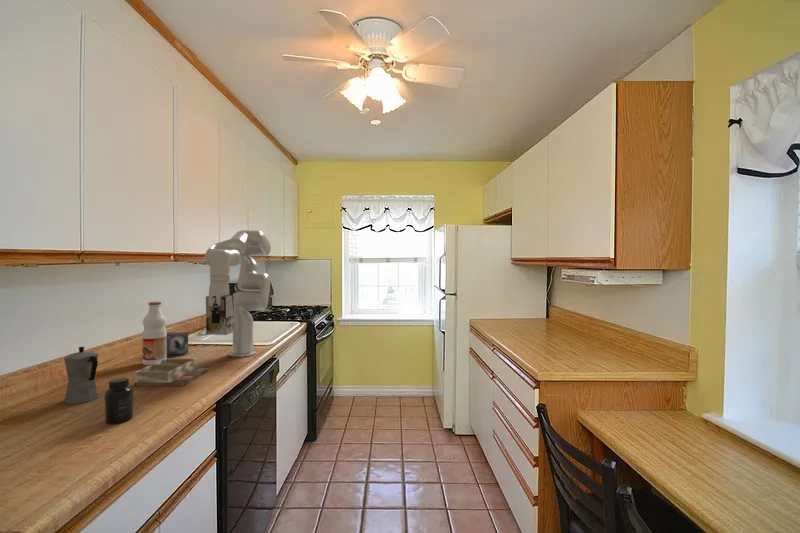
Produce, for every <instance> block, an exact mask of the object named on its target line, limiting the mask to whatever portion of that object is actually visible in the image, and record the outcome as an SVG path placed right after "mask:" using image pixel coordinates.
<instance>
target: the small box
mask: <svg viewBox="0 0 800 533" xmlns="http://www.w3.org/2000/svg"><path fill="white" fill-rule="evenodd" d="M187 354H189V332H186V331H185V332H178V331H177V332H167V356H168V357H174V356H186V355H187Z"/></svg>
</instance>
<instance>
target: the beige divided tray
mask: <svg viewBox="0 0 800 533" xmlns="http://www.w3.org/2000/svg"><path fill="white" fill-rule="evenodd" d="M197 361H198V360H197V358H171V357H170V358H169V357H168V358H166V359H164V360H161V361H159V362H157V363H154V364H152V365H146V366H145V367H143V368H141V369H139V370H136V371H134V386H135V387H137V386H139V387H183V386H185V385H187V384H189V383H190V382H192V381H194V380H196V379H197V378H199V377H200V376H201V377H202V376H203V375H204V374H206V373H209V367H197V365H198V364H197V363H198V362H197Z"/></svg>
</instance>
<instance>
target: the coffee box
mask: <svg viewBox="0 0 800 533" xmlns="http://www.w3.org/2000/svg"><path fill="white" fill-rule="evenodd" d="M208 298H209V295H207V296H205V327H206V328H205V331H206V335H210V336H211V335H212V336H213V335H214V336H216V335H218V336H228V335H229V334H233V332H234V306H233V294H230V295H226V296H223V297H222V302H221V307H220V310H219V313H220V323H212V314H211V310H210V307H209V305H208ZM214 306H218V304H215V305H214ZM216 309H217V308H216Z"/></svg>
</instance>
